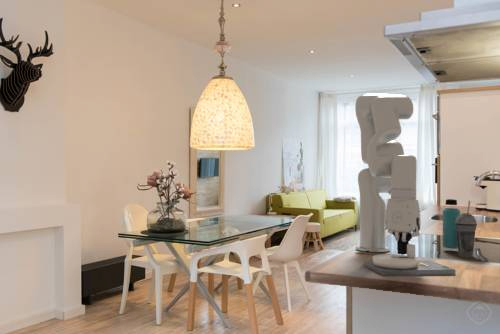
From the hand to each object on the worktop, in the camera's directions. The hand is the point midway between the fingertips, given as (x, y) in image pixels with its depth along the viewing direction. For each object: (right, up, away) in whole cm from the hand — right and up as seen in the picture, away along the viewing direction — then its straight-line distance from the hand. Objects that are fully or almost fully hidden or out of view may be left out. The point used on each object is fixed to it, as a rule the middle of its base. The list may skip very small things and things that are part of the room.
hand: (402, 253), depth 142 cm
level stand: (0, -4, -3) cm, 5 cm away
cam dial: (-4, -3, -4) cm, 6 cm away
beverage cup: (+30, -6, +23) cm, 38 cm away
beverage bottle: (+30, -6, +34) cm, 46 cm away
